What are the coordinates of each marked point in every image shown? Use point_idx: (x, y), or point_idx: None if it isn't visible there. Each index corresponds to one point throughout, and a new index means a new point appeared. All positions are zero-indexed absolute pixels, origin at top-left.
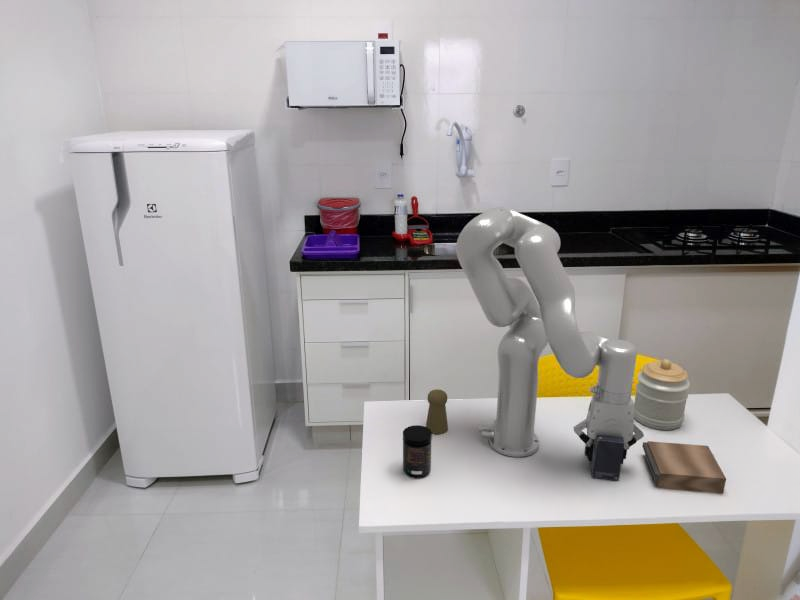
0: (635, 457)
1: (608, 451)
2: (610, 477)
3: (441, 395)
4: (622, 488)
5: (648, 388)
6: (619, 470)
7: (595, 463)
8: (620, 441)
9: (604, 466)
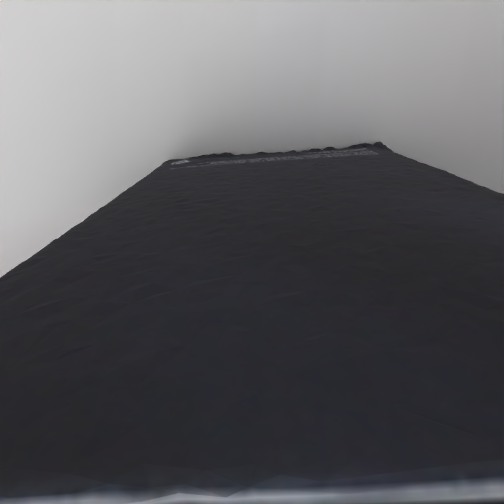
0: None
1: (327, 240)
2: (230, 156)
3: None
4: (125, 60)
5: None
6: (140, 182)
7: (433, 168)
8: None
9: (312, 166)
